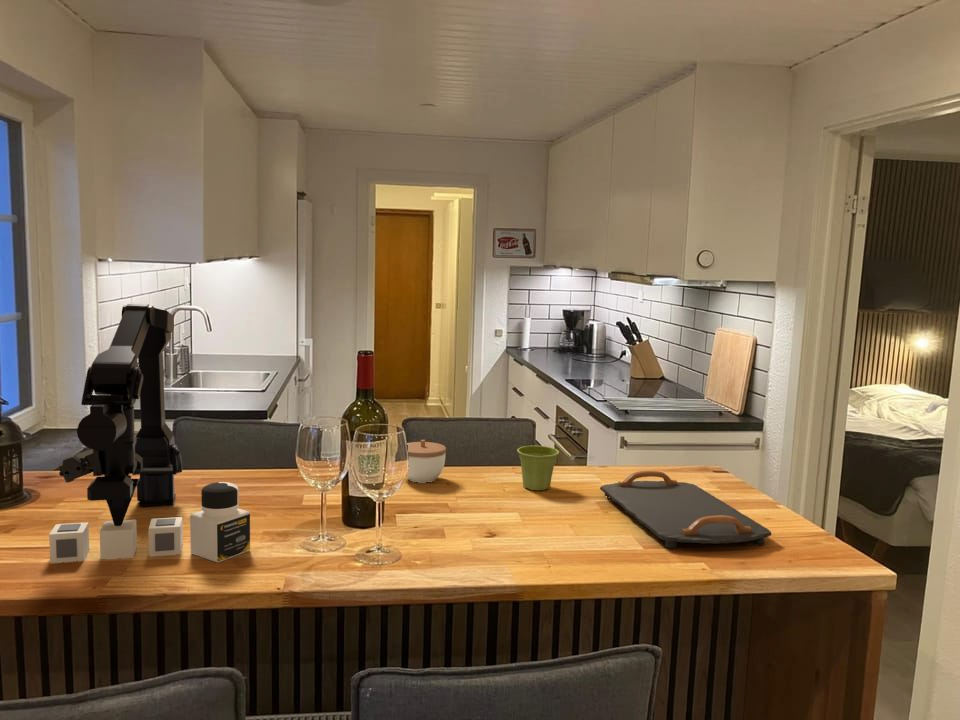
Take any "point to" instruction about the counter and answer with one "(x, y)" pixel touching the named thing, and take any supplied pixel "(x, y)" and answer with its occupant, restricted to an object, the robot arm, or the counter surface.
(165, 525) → the labelled cube a
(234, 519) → the medicine bottle
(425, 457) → the lidded jar
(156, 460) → the robot arm
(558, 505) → the counter surface
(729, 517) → the serving board
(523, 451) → the plant pot
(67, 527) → the labelled cube
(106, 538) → the plain cube
